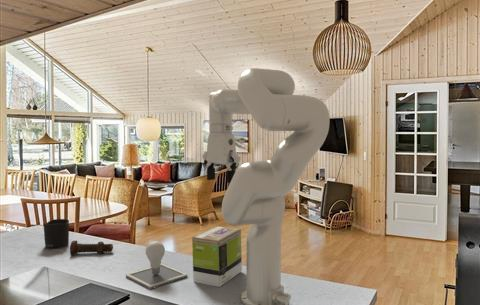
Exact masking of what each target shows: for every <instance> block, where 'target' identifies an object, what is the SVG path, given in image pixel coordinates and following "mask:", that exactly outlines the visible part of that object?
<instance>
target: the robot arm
mask: <svg viewBox="0 0 480 305" xmlns="http://www.w3.org/2000/svg"><path fill="white" fill-rule="evenodd" d="M295 90H296V85H295V80H294V78H293V77H292V76H291V75H290V74H289V73H288V72H286V71H283V70H279V69H269V68H258V67H256V68H255V67H252V68H248V69H246V70H244V71H243V72H242V73H241V75H240V76H239V78H238V82H237V89H218V90H217V91H214V92H213V91H212V92H211V93H210V94H209V96H208V97H209V98H208V105H209V106H208V107H209V108H208V118H209V122H208V124H209V126H208V127H209V128H208V130H209V131H208V137H207V145H206V152H205V153H203V154H202V159H203V163H204V165H205V169H206V179H207V181H213V180H215V179H216V167H215V166H216V165H217V164H218V165H225V166H226V168H227V170H226V183H228V184H229V185H228V186H227V190H226V191H225V193H224V196H223V199H222V203H221V214H222V218H223V219H224V221H225V222H226V223H227V224H228V225H230V226H233V227H234V226H235V227H239V226H240V227H241V226H248V225H250V227H249V230H248V232H247V235H246V290H244V291H242V293H241V295H240V300H241V303H242V304H243V305H289V304H290V300H291V298H292V295H291V294H289V293H285V288H284V287H285V286H284V285H282V284H281V283H282V277H281V276H282V275H281V273H282V272H281V270H282V227H283V220H284V215H285V211H286V201H285V197H286V196H287V195H289V194H290V193H291V191H292V190H293V189H294V188H295V186H296V184H297V182H299V179H300V178H301V176H302V175H303V173H304V172H305V170H306V168H307V166H308V165H309V163H310V162H311V161H312V158H313V157H314V156H315V155H316V154H317V152H318V151H319V150H320V149H321V147H323V145H324V142H325V141H326V138H327V136H328V134H329V129H330V112H329V111H330V110H329V109H328V107H327V105H326V103H325V102H324V101H322V100H321V99H319V98H317V97H315V96H312V95H311V96H310V95H302V94H301V95H300V94H294V92H295ZM233 114H234V115H251V118H252V119H253V120H254V122H255V123H256V124H257V125H258V126H259V127H260V128H261V129H262V130H265V131H267V132H268V131H269V132H292V133H291V134H290V135H288V136H287V137H285V139H283V140H282V141H281V142H280V143H279V144H278V146H277V147H276V148H275V150H274V153H273V154H272V156H271V157H270V158H269V159H266V160H260V161H259V160H258V161H249V162H245V163H243V164H241V165H239V164H240V161H241V157H240V156H239V155H238V154H237V149H236V148H237V147H236V138H235V135H234V133H233V130H234V127H233ZM238 166H239V167H238Z"/></svg>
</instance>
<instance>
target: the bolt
mask: <svg viewBox="0 0 480 305" xmlns="http://www.w3.org/2000/svg"><path fill="white" fill-rule="evenodd" d="M113 250H114V245H113V243H104V241H99V242H97V243H78V240H72V241H71V243H70V246H69V254H70V256H76V255H77V254H79V253H96V254H97V255H102V254H104V253H112V252H113Z"/></svg>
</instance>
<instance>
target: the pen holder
mask: <svg viewBox="0 0 480 305" xmlns="http://www.w3.org/2000/svg"><path fill="white" fill-rule="evenodd" d="M42 224H43V236H44V247H45V248H46V249H51V250H56V249H62V248H66V247H67V246H68V245H69V241H70V236H69V235H70V234H69V233H70V220H69V219H66V218H58V219H57V218H56V219H51V220H49V221H47V222H46V223H45V222H44V223H42Z"/></svg>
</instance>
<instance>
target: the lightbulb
mask: <svg viewBox="0 0 480 305" xmlns="http://www.w3.org/2000/svg"><path fill="white" fill-rule="evenodd" d="M165 252H166V248H165V245H164V244H163V243H162V242H160V241H156V240H154V241H151V242H149V243H148V244H147V246H146V248H145V255H146V257H147V259H148V261H149V263H150V264H149V265H150V267H151V269H152V274H154V275H158V274H159V273H160V266H161V264H162V263H161V262H162V260H163V258H164V255H165Z"/></svg>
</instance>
